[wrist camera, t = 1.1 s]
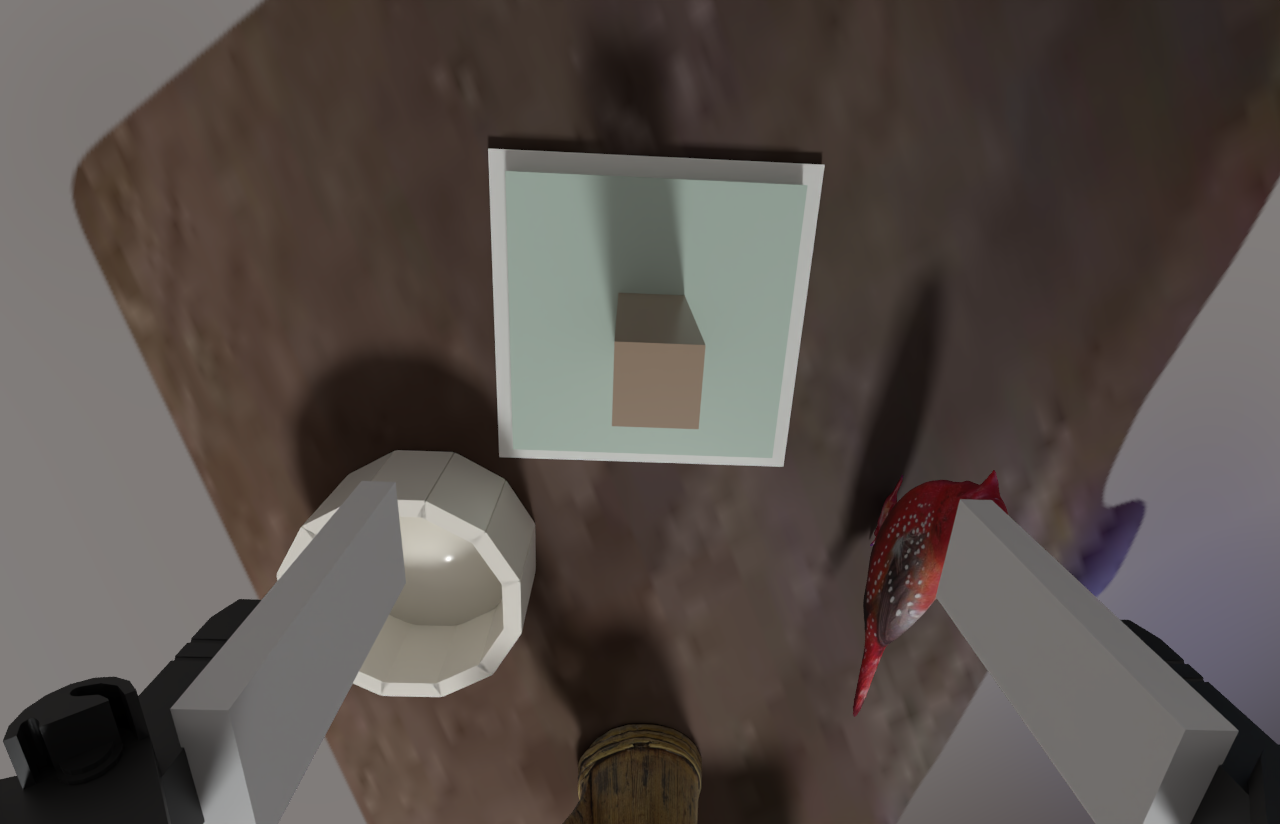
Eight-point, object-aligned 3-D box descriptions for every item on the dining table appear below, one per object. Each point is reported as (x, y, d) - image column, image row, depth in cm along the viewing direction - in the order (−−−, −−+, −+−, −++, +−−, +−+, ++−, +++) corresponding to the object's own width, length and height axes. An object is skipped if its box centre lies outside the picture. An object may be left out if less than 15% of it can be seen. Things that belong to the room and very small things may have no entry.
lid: (802, 184, 33) (879, 194, 23) (768, 450, 39) (819, 555, 28) (508, 170, 33) (454, 174, 23) (515, 442, 38) (474, 545, 28)
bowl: (534, 454, 39) (518, 503, 33) (536, 630, 44) (523, 698, 38) (315, 447, 39) (261, 495, 33) (341, 625, 43) (298, 693, 38)
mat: (822, 164, 33) (824, 164, 33) (781, 463, 40) (783, 466, 39) (490, 148, 33) (488, 148, 32) (500, 453, 39) (499, 457, 39)
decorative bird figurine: (948, 417, 39) (1049, 498, 29) (844, 649, 45) (901, 777, 35) (903, 406, 38) (991, 485, 29) (805, 642, 44) (852, 769, 35)
